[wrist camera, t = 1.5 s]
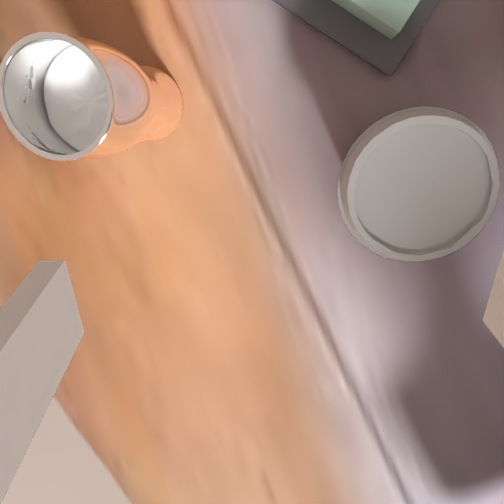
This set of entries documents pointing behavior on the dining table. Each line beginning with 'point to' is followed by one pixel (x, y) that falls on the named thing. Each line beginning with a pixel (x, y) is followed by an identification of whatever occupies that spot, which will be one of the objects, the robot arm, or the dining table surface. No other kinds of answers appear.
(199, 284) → the dining table surface
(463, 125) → the disposable coffee cup
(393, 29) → the board
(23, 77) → the beer glass
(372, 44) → the rubber mat
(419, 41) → the dining table surface
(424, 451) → the dining table surface
